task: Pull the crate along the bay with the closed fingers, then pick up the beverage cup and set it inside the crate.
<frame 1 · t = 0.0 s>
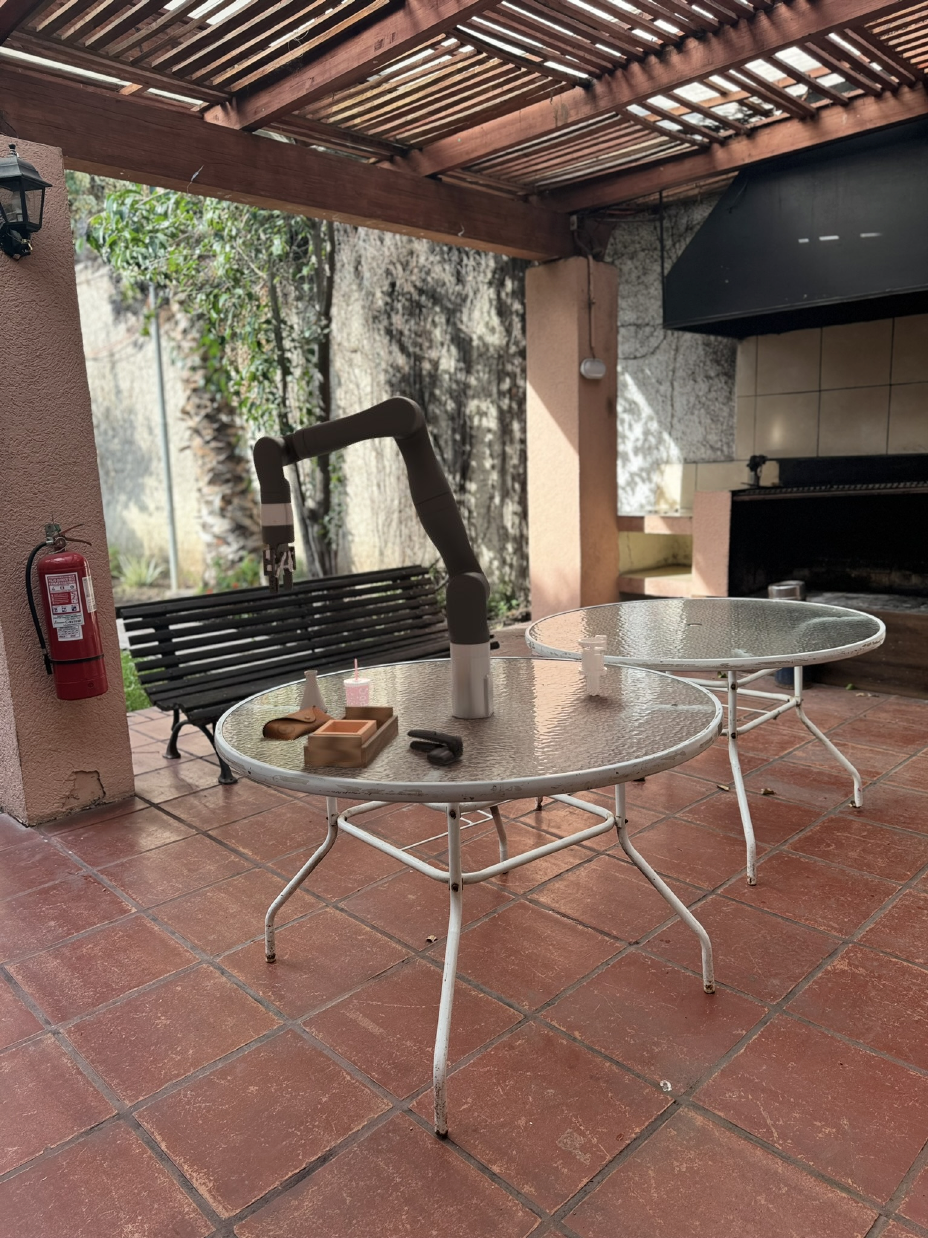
hand: (281, 591, 212), 29 cm above the table, tool pointing down, fingers open, 8 cm apart
flask: (313, 713, 215), on the table
sunglasses case: (303, 732, 200), on the table
beverage cup: (358, 719, 208), on the table
white plastic upright piece: (593, 695, 223), on the table
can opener: (433, 757, 177), on the table
bay: (354, 748, 184), on the table
crate: (345, 738, 178), point 4 cm above the table, slide at 0.0 cm
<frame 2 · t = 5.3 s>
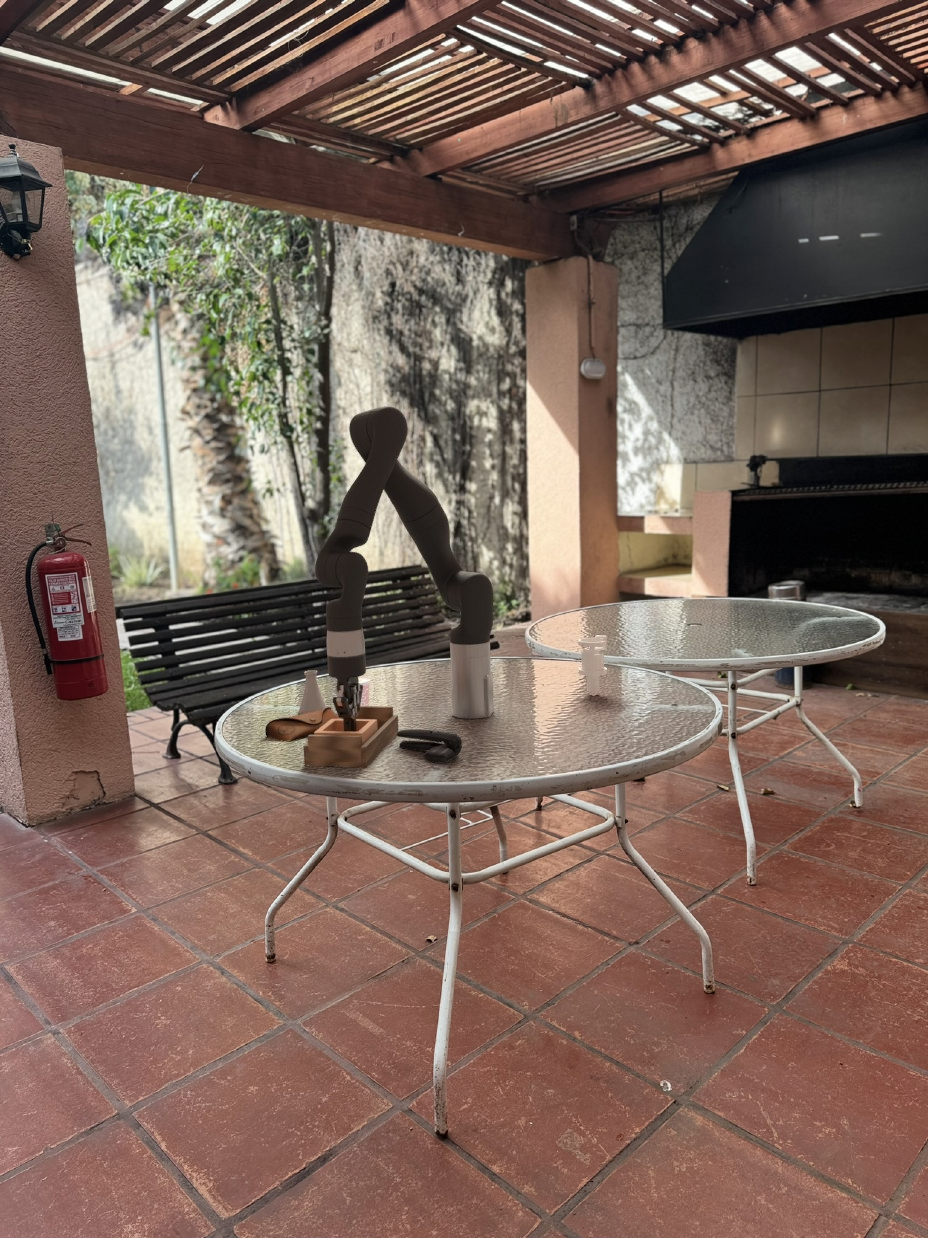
hand: (350, 735, 181), 3 cm above the table, tool pointing down, fingers closed
sunglasses case: (309, 733, 199), on the table
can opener: (428, 755, 179), on the table
crate: (346, 737, 179), point 4 cm above the table, slide at 0.7 cm, touching gripper
everything else where it was.
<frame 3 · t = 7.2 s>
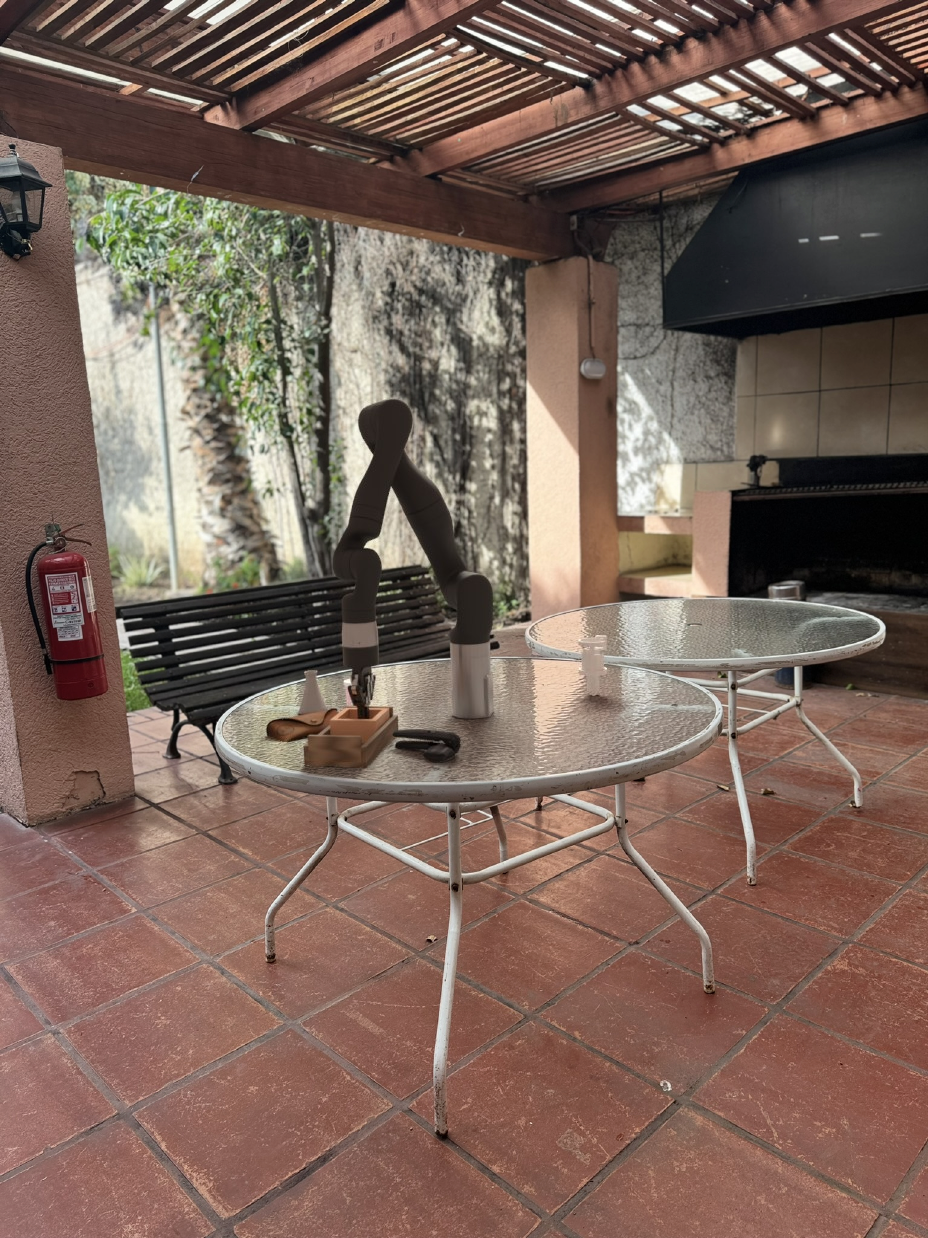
hand: (363, 723, 190), 3 cm above the table, tool pointing down, fingers closed
crate: (360, 725, 188), point 4 cm above the table, slide at 10.1 cm, touching gripper
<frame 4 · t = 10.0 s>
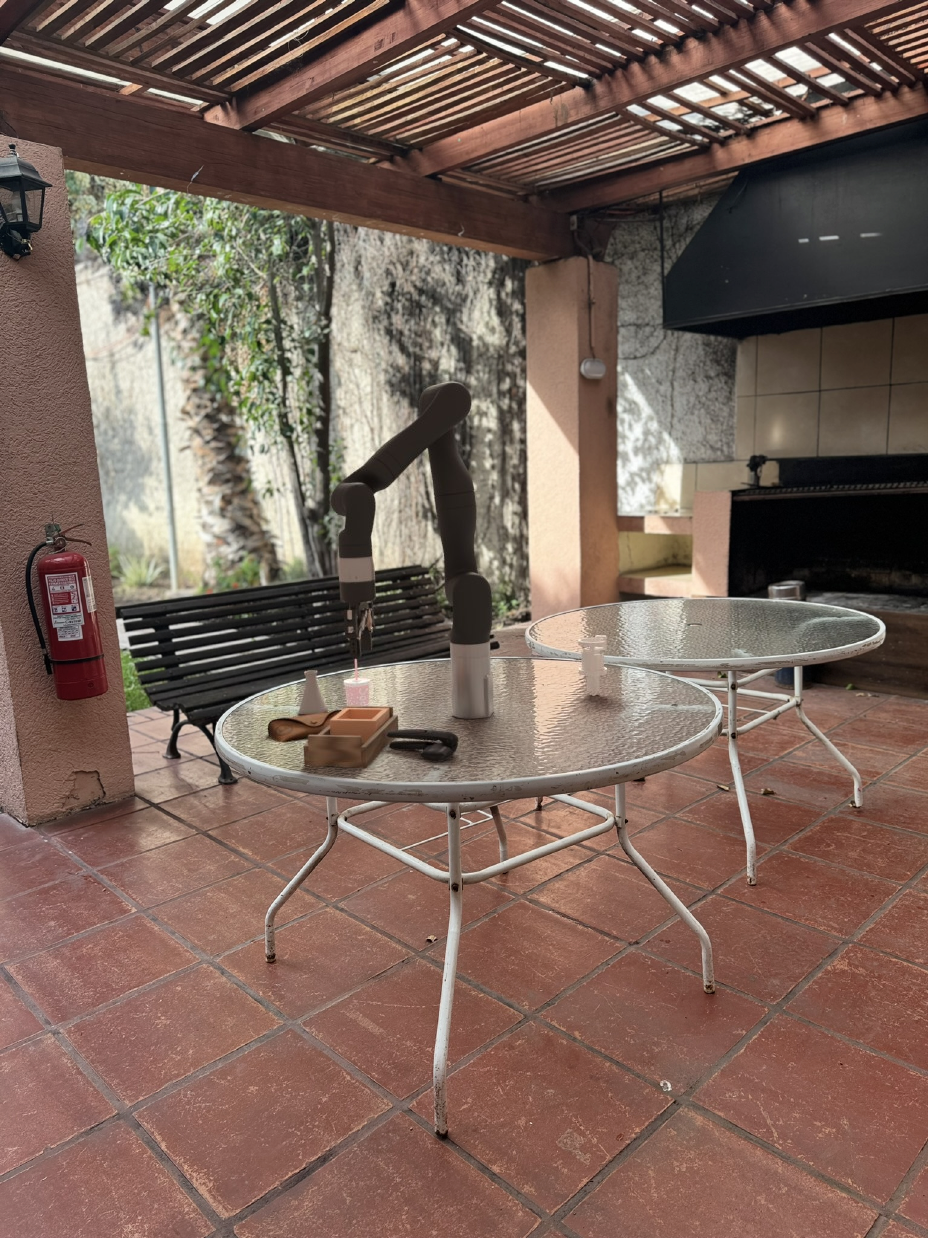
hand: (361, 653, 191), 18 cm above the table, tool pointing down, fingers open, 8 cm apart
crate: (360, 725, 188), point 4 cm above the table, slide at 10.0 cm
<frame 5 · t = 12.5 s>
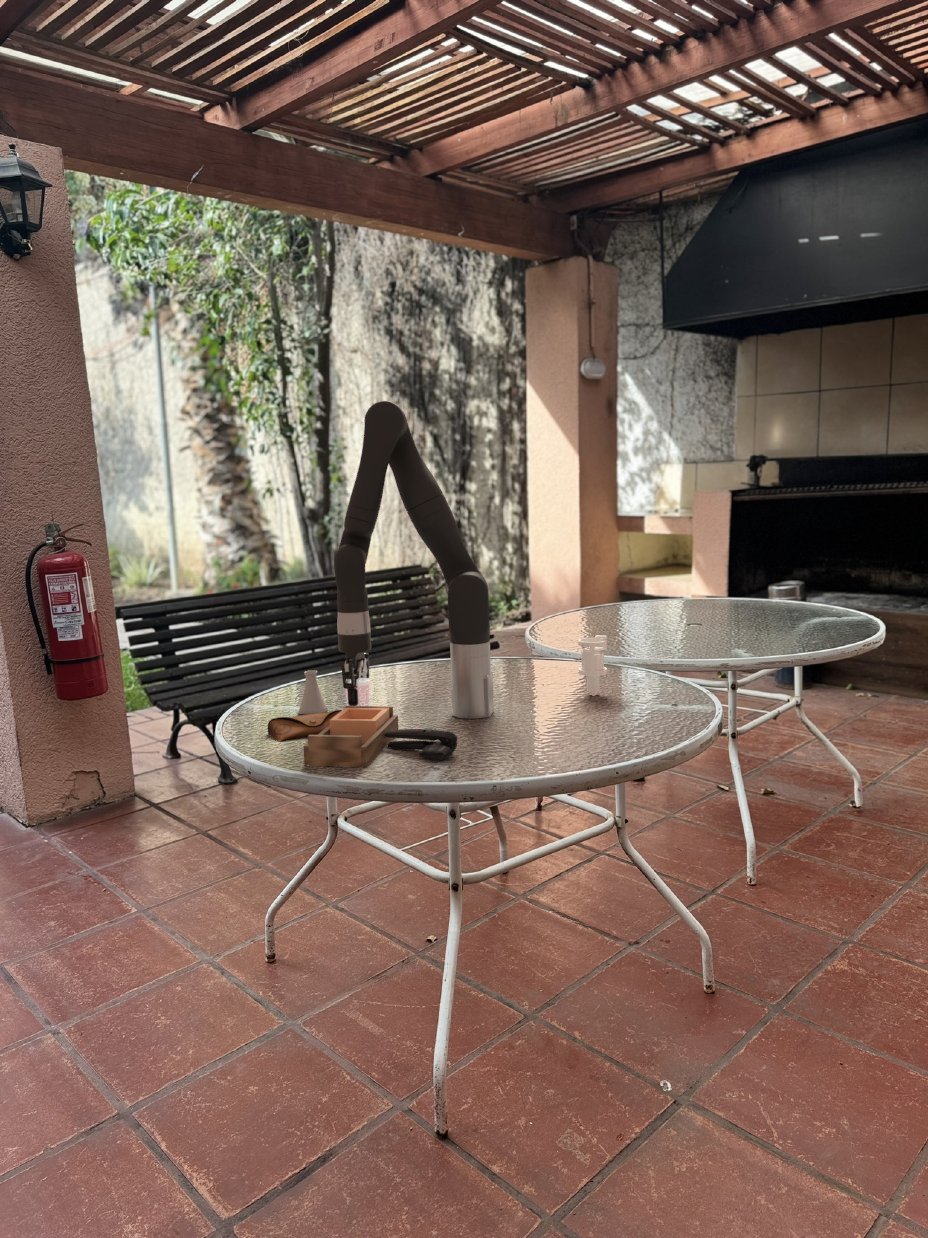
hand: (357, 701, 208), 4 cm above the table, tool pointing down, fingers closed on beverage cup, 6 cm apart
beverage cup: (358, 719, 208), on the table, touching gripper
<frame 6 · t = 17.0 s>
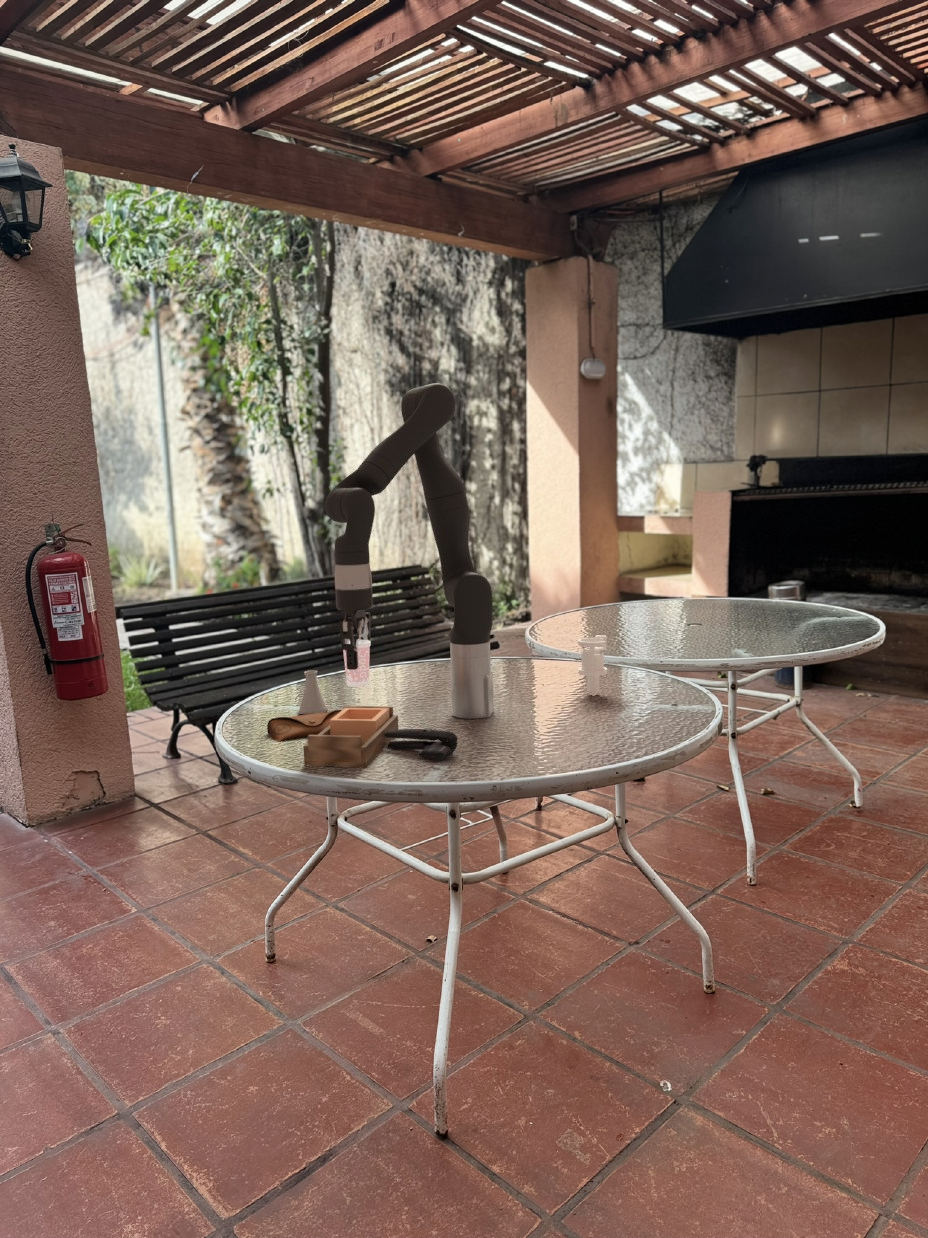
hand: (357, 665, 186), 16 cm above the table, tool pointing down, fingers closed on beverage cup, 6 cm apart
beverage cup: (358, 685, 187), point 12 cm above the table, touching gripper
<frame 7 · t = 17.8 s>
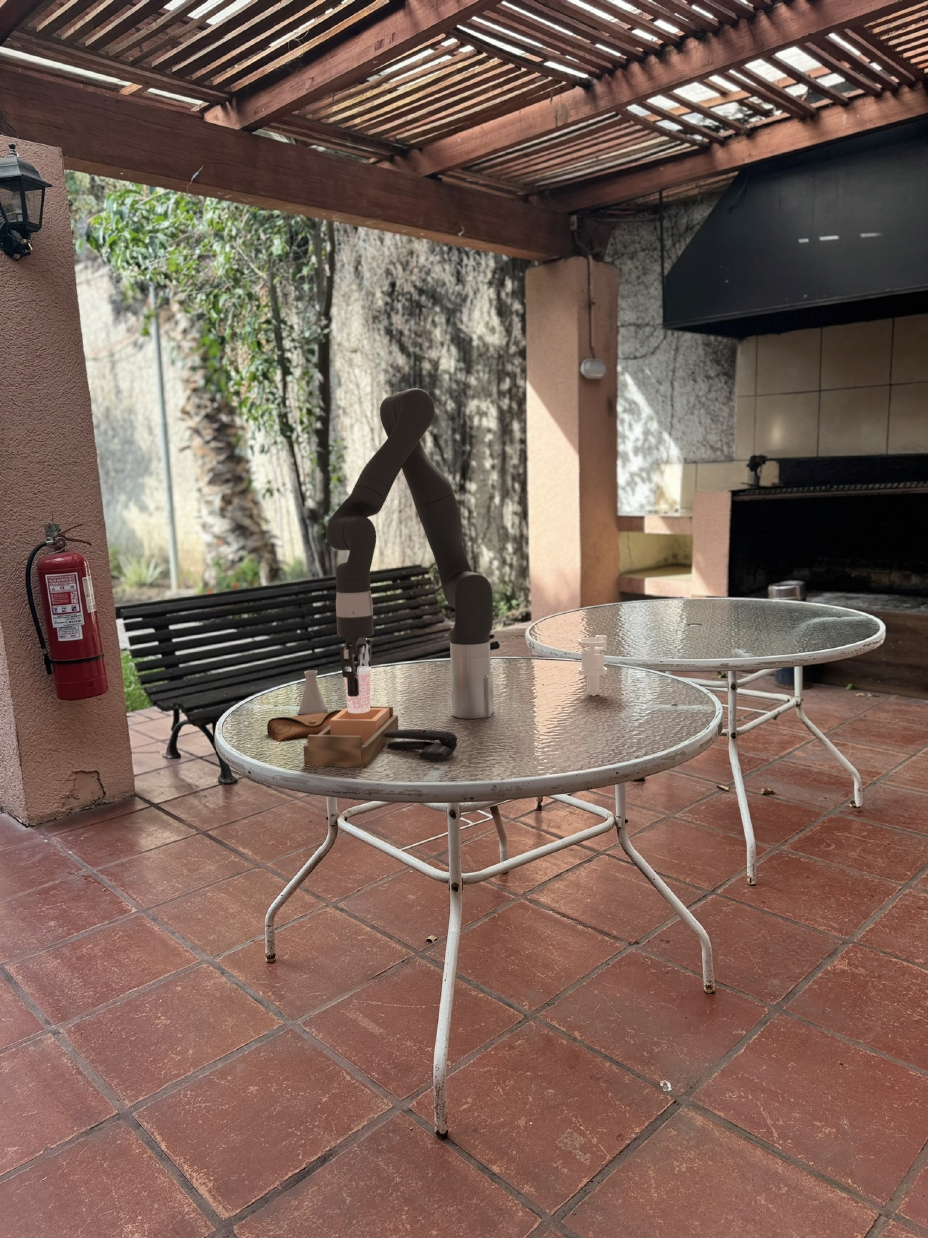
hand: (358, 692, 187), 11 cm above the table, tool pointing down, fingers closed on beverage cup, 6 cm apart
beverage cup: (358, 711, 188), point 7 cm above the table, touching gripper
when the fingers open (8 cm above the table, at t = 19.0 s): beverage cup drops 2 cm, resting on crate.
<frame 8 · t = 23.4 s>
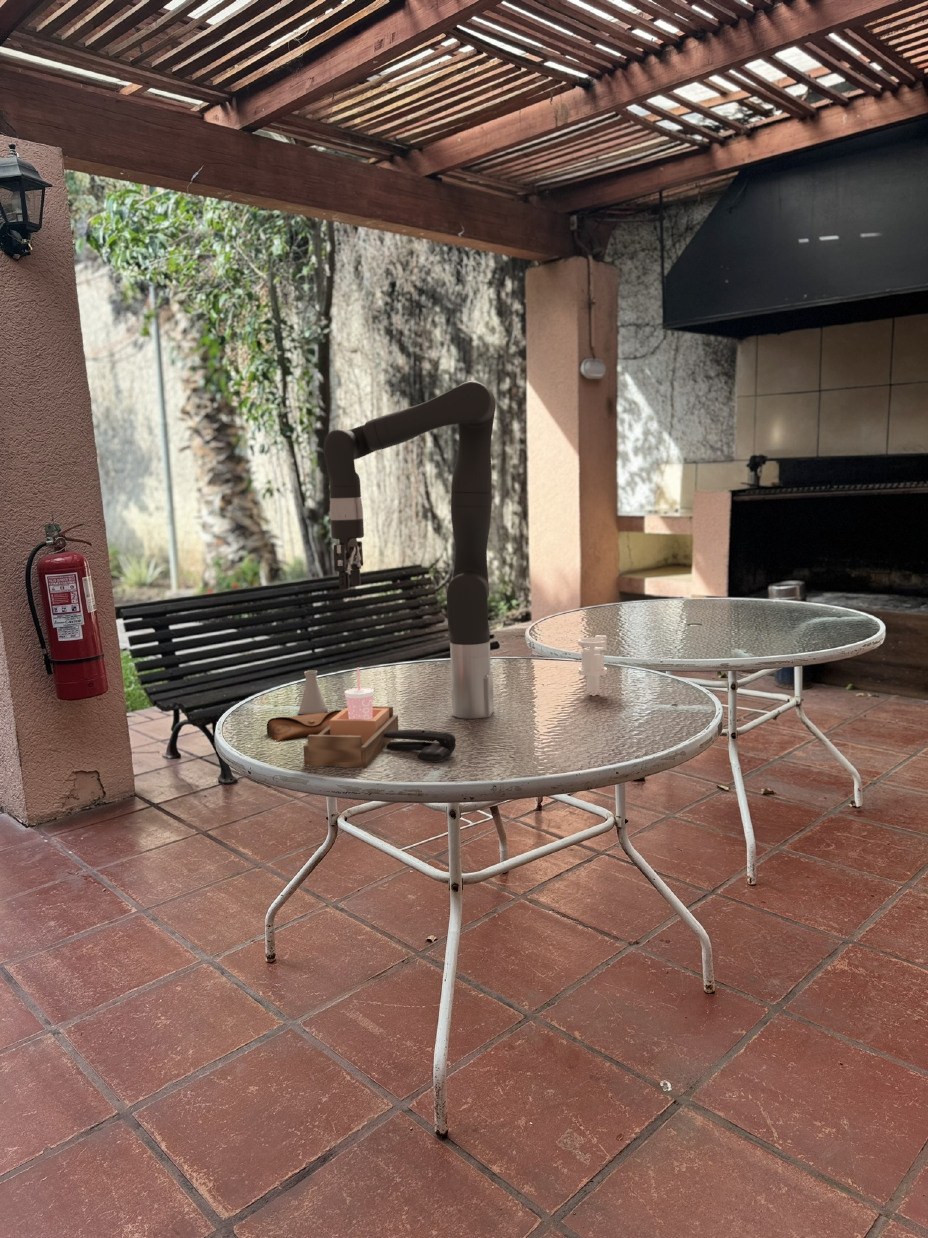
hand: (350, 587, 209), 30 cm above the table, tool pointing down, fingers open, 8 cm apart
beverage cup: (361, 733, 188), point 2 cm above the table, touching crate
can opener: (419, 755, 179), on the table, touching bay
crate: (360, 725, 188), point 4 cm above the table, slide at 9.9 cm, touching beverage cup
at the end: crate slide at 9.9 cm; beverage cup 0.1 cm from the target spot, point 1.8 cm above the table; beverage cup tilted 0° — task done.
